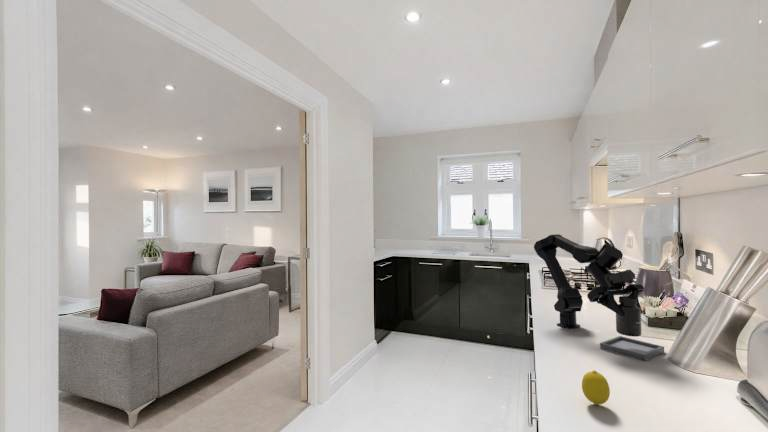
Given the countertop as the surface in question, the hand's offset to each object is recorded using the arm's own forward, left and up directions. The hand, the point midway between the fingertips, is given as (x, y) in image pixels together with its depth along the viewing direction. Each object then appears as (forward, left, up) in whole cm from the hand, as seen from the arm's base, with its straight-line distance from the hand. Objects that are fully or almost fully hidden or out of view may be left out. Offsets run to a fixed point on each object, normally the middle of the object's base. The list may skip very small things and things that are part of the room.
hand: (632, 314), depth 109 cm
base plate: (-1, -1, -12) cm, 12 cm away
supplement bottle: (0, -1, -7) cm, 7 cm away
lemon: (+43, +11, -12) cm, 46 cm away
